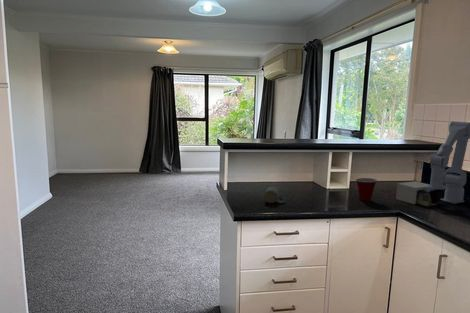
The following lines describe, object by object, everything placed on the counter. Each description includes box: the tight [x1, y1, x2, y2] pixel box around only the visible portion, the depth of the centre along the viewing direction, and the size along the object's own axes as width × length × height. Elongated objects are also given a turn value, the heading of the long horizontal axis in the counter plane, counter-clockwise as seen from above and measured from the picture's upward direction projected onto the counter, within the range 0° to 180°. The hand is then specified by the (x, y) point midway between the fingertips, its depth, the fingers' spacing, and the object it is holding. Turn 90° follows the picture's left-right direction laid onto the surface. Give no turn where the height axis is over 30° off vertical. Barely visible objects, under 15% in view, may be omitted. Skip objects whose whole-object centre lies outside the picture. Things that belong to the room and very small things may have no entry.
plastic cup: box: [355, 177, 378, 203], centre depth 176 cm, size 11×11×12 cm
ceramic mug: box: [263, 186, 285, 204], centre depth 169 cm, size 11×8×8 cm
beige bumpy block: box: [416, 191, 438, 207], centre depth 174 cm, size 8×10×6 cm
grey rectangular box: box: [395, 181, 431, 205], centre depth 178 cm, size 15×11×9 cm
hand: (434, 203), depth 168 cm, fingers closed
